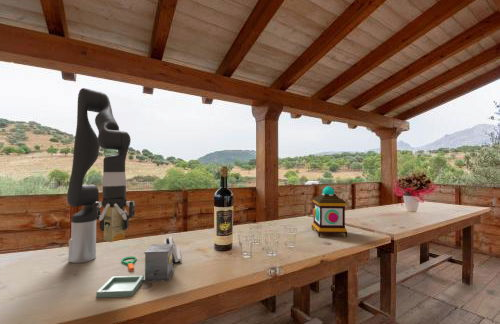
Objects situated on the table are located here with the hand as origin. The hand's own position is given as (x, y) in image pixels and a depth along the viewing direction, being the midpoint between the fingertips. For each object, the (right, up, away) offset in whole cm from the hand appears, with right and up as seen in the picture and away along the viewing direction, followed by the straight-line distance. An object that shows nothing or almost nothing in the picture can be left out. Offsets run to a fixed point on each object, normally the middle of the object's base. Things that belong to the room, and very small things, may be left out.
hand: (114, 230), depth 88 cm
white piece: (+14, -20, +23) cm, 33 cm away
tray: (+5, -19, -5) cm, 20 cm away
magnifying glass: (-2, -20, +15) cm, 25 cm away
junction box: (+14, -19, +5) cm, 24 cm away
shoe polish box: (0, -4, 0) cm, 4 cm away
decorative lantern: (+99, -21, +65) cm, 120 cm away
